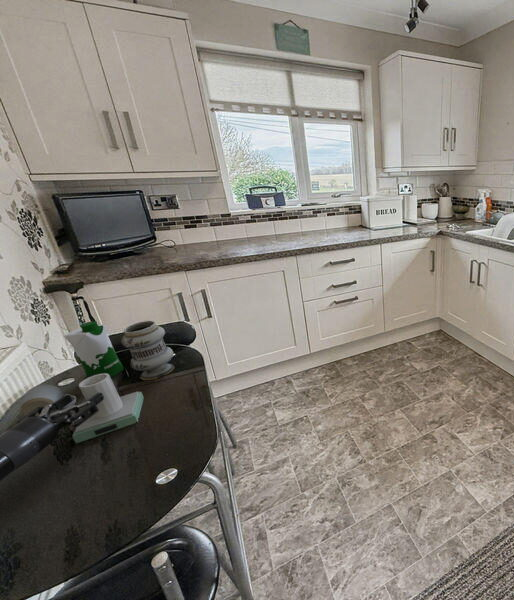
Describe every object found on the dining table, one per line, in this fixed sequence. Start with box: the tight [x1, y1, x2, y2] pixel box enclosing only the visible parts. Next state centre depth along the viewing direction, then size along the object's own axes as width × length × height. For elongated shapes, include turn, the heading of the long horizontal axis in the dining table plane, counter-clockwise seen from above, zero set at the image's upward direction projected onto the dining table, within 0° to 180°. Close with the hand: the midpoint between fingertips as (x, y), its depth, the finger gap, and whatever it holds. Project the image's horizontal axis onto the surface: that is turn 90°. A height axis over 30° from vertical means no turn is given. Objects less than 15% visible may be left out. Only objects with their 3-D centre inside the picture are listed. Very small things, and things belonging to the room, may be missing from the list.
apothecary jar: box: [120, 320, 175, 381], centre depth 111 cm, size 12×12×18 cm
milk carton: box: [63, 320, 125, 379], centre depth 111 cm, size 9×9×20 cm
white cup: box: [78, 373, 123, 418], centre depth 89 cm, size 6×6×10 cm
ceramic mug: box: [19, 383, 77, 417], centre depth 97 cm, size 11×8×8 cm
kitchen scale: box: [71, 391, 145, 444], centre depth 91 cm, size 13×14×3 cm
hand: (85, 396), depth 85 cm, fingers open, 8 cm apart
